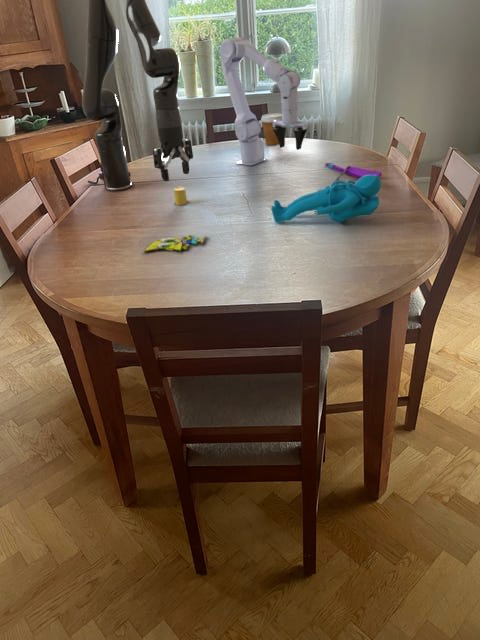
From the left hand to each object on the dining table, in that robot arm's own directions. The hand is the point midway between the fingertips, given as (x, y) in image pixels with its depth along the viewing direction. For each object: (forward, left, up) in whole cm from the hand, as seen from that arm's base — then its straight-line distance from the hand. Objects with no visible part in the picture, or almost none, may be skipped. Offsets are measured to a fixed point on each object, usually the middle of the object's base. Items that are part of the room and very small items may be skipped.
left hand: (176, 177), depth 155 cm
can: (0, 0, -9) cm, 9 cm away
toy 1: (+20, -28, -9) cm, 35 cm away
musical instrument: (+41, +42, -9) cm, 60 cm away
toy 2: (+50, +2, -9) cm, 51 cm away
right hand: (+17, +48, -2) cm, 51 cm away
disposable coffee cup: (-8, +79, -9) cm, 80 cm away
